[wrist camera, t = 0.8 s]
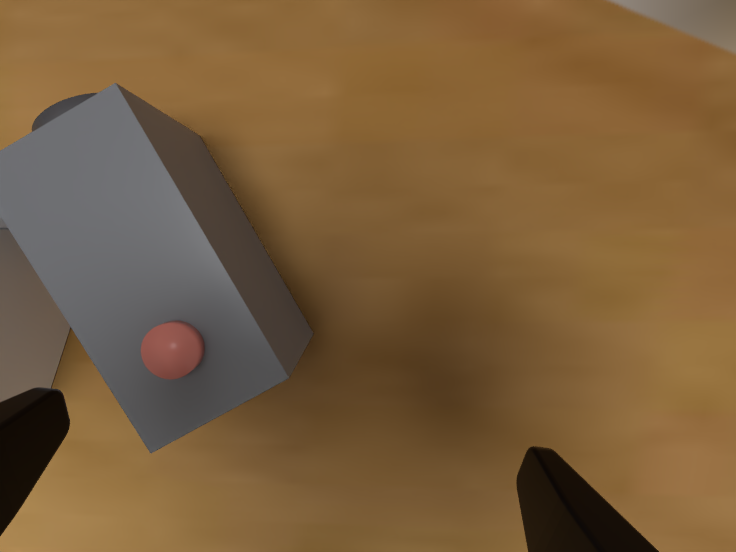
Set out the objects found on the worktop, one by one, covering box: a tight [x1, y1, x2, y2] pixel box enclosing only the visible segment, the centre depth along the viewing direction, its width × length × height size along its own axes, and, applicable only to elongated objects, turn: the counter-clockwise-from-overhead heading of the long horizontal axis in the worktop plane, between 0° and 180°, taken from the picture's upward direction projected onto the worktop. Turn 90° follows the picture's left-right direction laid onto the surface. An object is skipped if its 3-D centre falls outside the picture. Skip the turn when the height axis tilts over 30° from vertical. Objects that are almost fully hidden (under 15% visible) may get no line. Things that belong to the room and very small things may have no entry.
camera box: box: [0, 83, 314, 453], centre depth 18 cm, size 13×6×8 cm, turn 29°
